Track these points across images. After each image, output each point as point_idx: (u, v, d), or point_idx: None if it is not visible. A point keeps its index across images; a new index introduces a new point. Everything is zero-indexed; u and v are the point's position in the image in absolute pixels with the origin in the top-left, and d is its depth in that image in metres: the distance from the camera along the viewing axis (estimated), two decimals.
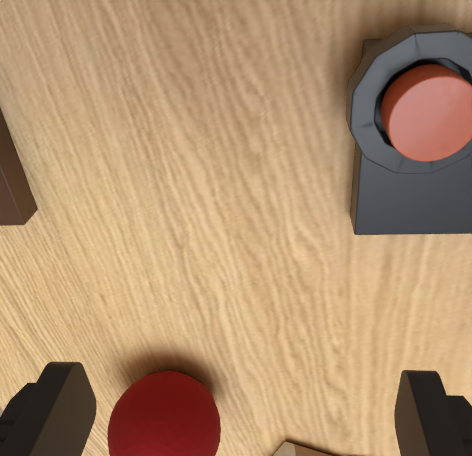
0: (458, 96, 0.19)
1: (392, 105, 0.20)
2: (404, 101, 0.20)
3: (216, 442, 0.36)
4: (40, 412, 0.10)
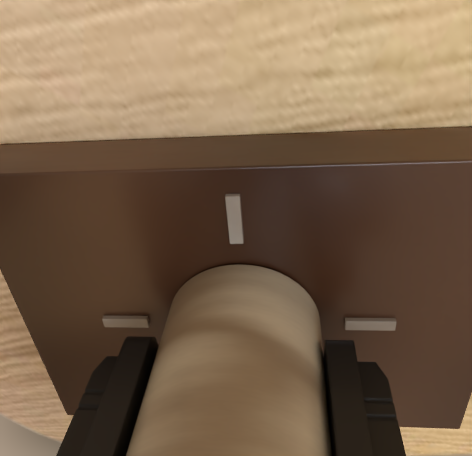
0: None
1: None
2: None
3: None
4: (127, 381, 0.10)
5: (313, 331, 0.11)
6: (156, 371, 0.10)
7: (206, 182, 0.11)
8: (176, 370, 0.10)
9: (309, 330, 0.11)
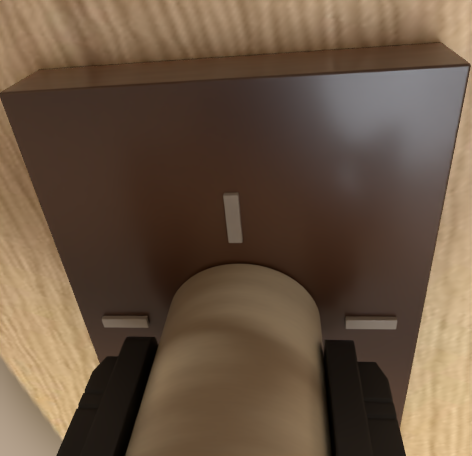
0: None
1: None
2: None
3: None
4: (127, 381, 0.10)
5: (312, 329, 0.11)
6: (154, 373, 0.10)
7: (409, 304, 0.12)
8: (172, 371, 0.10)
9: (307, 328, 0.11)
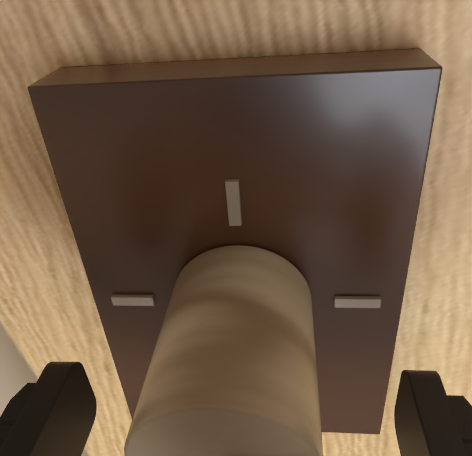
0: None
1: None
2: None
3: None
4: (40, 412, 0.10)
5: (304, 304, 0.13)
6: (162, 338, 0.11)
7: (392, 285, 0.14)
8: (179, 334, 0.11)
9: (299, 303, 0.12)
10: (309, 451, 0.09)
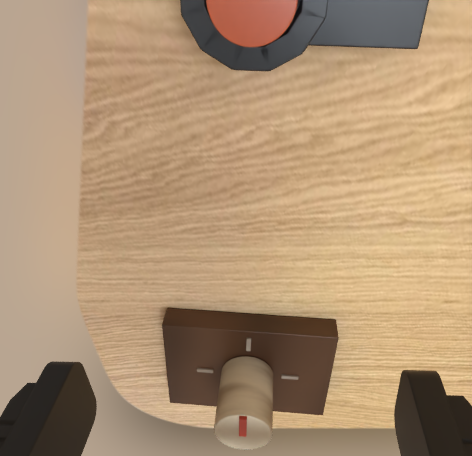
0: None
1: (234, 42, 0.21)
2: (229, 33, 0.20)
3: None
4: (40, 412, 0.10)
5: (233, 370, 0.36)
6: None
7: (241, 334, 0.36)
8: None
9: (231, 373, 0.36)
10: (231, 417, 0.33)
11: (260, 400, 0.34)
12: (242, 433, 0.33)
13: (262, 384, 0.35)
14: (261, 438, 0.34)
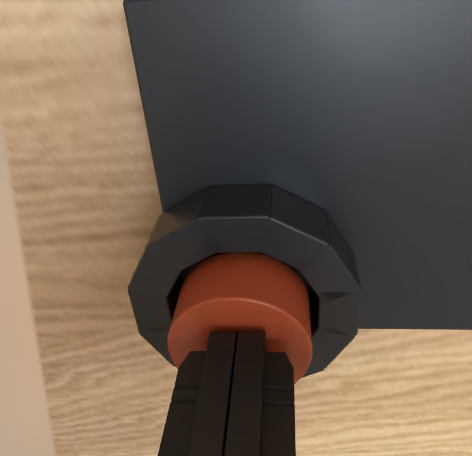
0: (196, 331, 0.12)
1: None
2: None
3: None
4: (221, 375, 0.10)
5: None
6: None
7: None
8: None
9: None
10: None
11: None
12: None
13: None
14: None
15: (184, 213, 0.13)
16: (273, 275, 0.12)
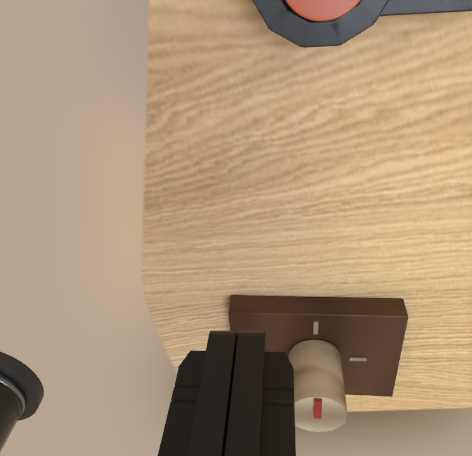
0: None
1: (306, 18, 0.21)
2: (302, 8, 0.20)
3: None
4: (221, 375, 0.10)
5: (302, 354, 0.36)
6: None
7: (308, 317, 0.36)
8: None
9: (299, 357, 0.36)
10: (306, 399, 0.33)
11: (333, 382, 0.34)
12: (317, 415, 0.33)
13: (333, 366, 0.35)
14: (336, 420, 0.34)
15: None
16: None
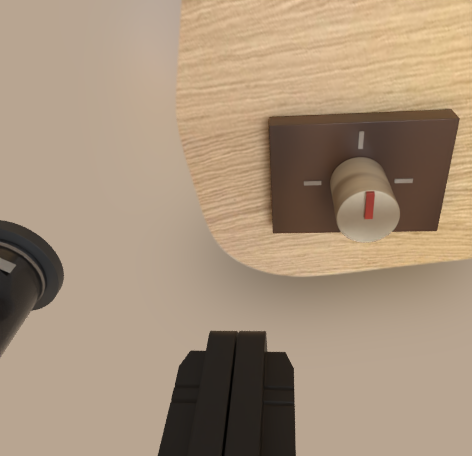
0: None
1: None
2: None
3: None
4: (221, 375, 0.10)
5: (347, 168, 0.35)
6: None
7: (353, 127, 0.34)
8: None
9: (344, 170, 0.34)
10: (357, 194, 0.31)
11: (383, 183, 0.32)
12: (368, 214, 0.32)
13: (381, 174, 0.34)
14: (387, 222, 0.32)
15: None
16: None
